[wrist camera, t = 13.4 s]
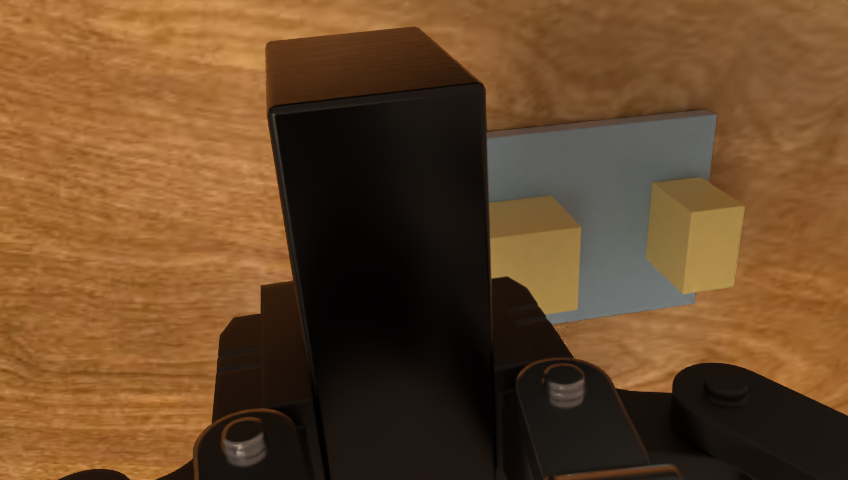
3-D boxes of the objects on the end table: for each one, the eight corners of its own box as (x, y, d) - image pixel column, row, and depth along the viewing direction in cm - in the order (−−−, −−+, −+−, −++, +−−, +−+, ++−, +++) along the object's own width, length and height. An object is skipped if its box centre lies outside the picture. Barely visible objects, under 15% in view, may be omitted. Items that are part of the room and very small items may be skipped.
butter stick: (397, 212, 27) (412, 248, 24) (551, 194, 28) (581, 226, 25) (403, 291, 28) (417, 333, 26) (549, 272, 29) (578, 310, 26)
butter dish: (361, 144, 26) (364, 151, 26) (706, 108, 28) (717, 114, 28) (378, 338, 30) (381, 349, 29) (685, 295, 32) (695, 304, 31)
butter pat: (651, 181, 28) (691, 212, 26) (700, 176, 29) (745, 205, 26) (645, 258, 30) (682, 294, 27) (692, 252, 30) (734, 287, 27)
